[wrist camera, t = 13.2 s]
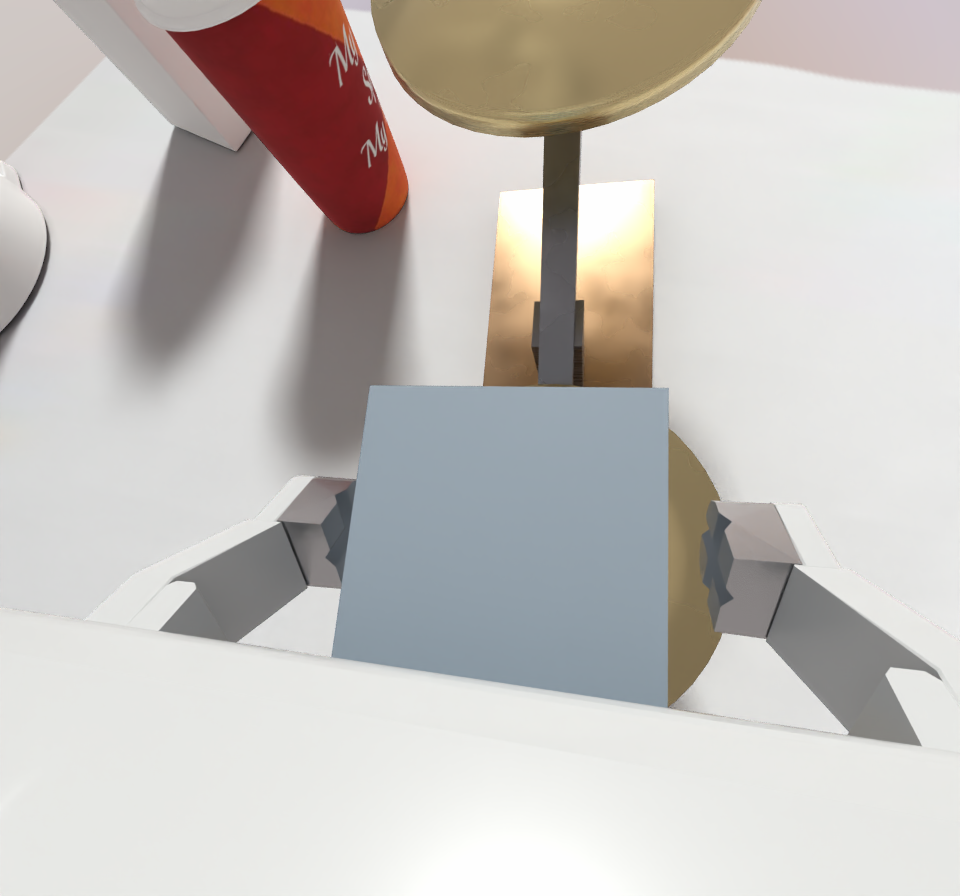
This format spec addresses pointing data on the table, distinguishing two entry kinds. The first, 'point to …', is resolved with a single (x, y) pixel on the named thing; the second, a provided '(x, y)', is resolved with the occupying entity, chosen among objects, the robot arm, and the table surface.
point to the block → (513, 538)
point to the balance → (575, 207)
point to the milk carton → (158, 69)
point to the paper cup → (298, 96)
